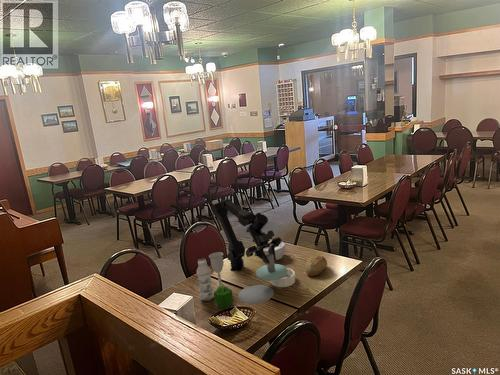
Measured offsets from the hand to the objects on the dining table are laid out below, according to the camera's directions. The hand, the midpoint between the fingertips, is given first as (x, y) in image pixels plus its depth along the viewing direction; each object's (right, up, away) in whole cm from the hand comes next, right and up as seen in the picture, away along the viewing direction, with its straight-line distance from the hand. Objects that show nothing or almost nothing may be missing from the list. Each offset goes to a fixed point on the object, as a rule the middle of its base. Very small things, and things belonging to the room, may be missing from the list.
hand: (272, 262), depth 169 cm
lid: (0, -6, +2) cm, 6 cm away
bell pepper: (-22, -19, -8) cm, 30 cm away
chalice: (-25, -15, +9) cm, 31 cm away
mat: (-8, -15, -2) cm, 17 cm away
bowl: (+6, -12, +8) cm, 15 cm away
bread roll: (+24, -8, +14) cm, 29 cm away
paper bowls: (+3, -6, +37) cm, 37 cm away
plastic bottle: (-31, -18, 0) cm, 36 cm away
